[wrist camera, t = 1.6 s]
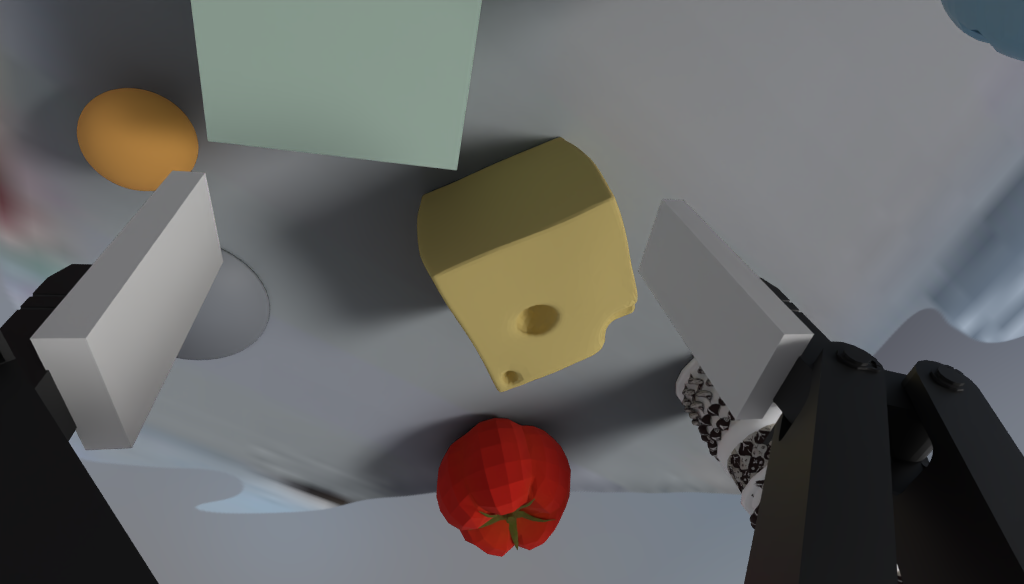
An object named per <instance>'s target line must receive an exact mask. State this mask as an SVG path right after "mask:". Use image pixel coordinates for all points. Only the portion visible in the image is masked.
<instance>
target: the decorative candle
mask: <svg viewBox="0 0 1024 584" xmlns="http://www.w3.org/2000/svg"><path fill="white" fill-rule="evenodd" d="M676 395H677V397H678V398H679V399H680V400H681V402H682V405H685V406H686V407H685V409H684V410H685V412H690V413H689V417H690V418H693V420H692V424H693V425H697V426H699V428H698V429H699V432H700V434H701V438H702V440H703V441H705V442H707V444H708V448H709V451H710V454H711V455H712V456H714V457H716V459H717V460H718V461H720V462H721V464H722V466H723V467H724V469H725V470H726V472H727V473H728V474H729V475H730V477H731V478H733V480H734V481H735V483H736V485H737V486H738V488H739V490H740V491H741V493H742V498H741V504H742V506H743V507H744V508H745V509H746V511H747V512H748V513H749V514H750V515H751V517H750V521H751V526H752V527H753V528H754V529H755V526H756V520H757V515H758V510H759V505H760V500H761V495H762V490H763V485H764V480H765V475H766V469H767V464H768V459H769V454H770V449H771V444H772V441H770V443H769V444H768V445H767V446H766V445H764V444H763V442H764V441H765V439H766V437H767V436H768V434H769V433H770V431H771V430H772V428H773V426H774V425H775V423H776V422H777V420H778V419H779V417H780V415H781V414H782V411H781V410H780V409H779V407H778V406H777V405H776V403H775V402H774V401H773V403H772V404H771V406H770V407H769V409H768V411H767V412H766V414H765V416H764V417H763V419H745V420H735V418H734V417H733V415H732V414H731V412H730V410H729V409H728V407H727V406H726V404H725V403H724V401H723V400H722V398H721V397H720V395H719V394H718V392H717V391H716V389H715V388H714V386H713V385H712V383H711V382H710V380H709V379H708V377H707V376H706V374H705V372H704V371H703V369H702V368H701V366H700V365H699V363H698V362H697V360H696V359H695V357H694V358H693V359H692V360H691V361H690V362H689V363H688V364H687V365H686V366H685V367H684V368H683V369H682V370H681V373H680V375H679V377H678V379H677V381H676ZM699 421H700V422H699ZM700 423H701V424H700ZM897 575H898V584H904V583H903V580H902V577H901V574H900V571H899V568H898V565H897Z"/></svg>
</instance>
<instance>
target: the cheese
mask: <svg viewBox="0 0 1024 584" xmlns="http://www.w3.org/2000/svg"><path fill="white" fill-rule="evenodd" d="M417 235H418V246H419V252H420V256H421V259H422V262H423V264H424V266H425V268H426V270H427V271H428V273H429V275H430V277H431V278H432V280H433V282H434V284H435V286H436V287H437V289H438V291H439V293H440V294H441V296H442V298H443V299H444V301H445V303H446V304H447V306H448V307H449V309H450V310H451V312H452V313H453V315H454V316H455V318H456V319H457V321H458V322H459V323H460V325H461V326H462V328H463V329H464V331H465V332H466V334H467V335H468V337H469V339H470V340H471V342H472V343H473V345H474V347H475V348H476V350H477V352H478V353H479V355H480V357H481V359H482V360H483V362H484V364H485V366H486V368H487V370H488V372H489V374H490V376H491V378H492V380H493V382H494V384H495V386H496V388H497V390H498V391H499V392H504V391H506V390H509V389H511V388H514V387H517V386H520V385H523V384H525V383H528V382H530V381H533V380H535V379H538V378H541V377H544V376H546V375H549V374H552V373H554V372H556V371H559V370H561V369H563V368H566V367H568V366H570V365H572V364H574V363H577V362H579V361H581V360H584V359H586V358H588V357H590V356H592V355H594V354H596V353H597V352H598V351H599V350H601V349H602V346H603V344H604V342H605V332H606V329H607V327H608V325H609V324H610V323H611V322H612V321H614V320H615V319H617V318H620V317H622V316H625V315H628V314H630V313H632V312H633V311H634V309H635V305H634V304H635V303H636V302H637V289H636V284H635V279H634V275H633V270H632V266H631V260H630V255H629V248H628V243H627V237H626V232H625V228H624V225H623V221H622V217H621V214H620V211H619V208H618V205H617V203H616V200H615V197H614V195H613V194H612V192H611V190H610V188H609V186H608V184H607V183H606V181H605V179H604V178H603V176H602V174H601V172H600V171H599V169H598V168H597V166H596V165H595V164H594V163H593V161H592V160H591V159H590V158H589V157H588V156H587V155H586V154H584V153H583V152H582V151H581V150H580V149H578V148H577V147H576V146H574V145H573V144H571V143H569V142H567V141H566V140H564V139H563V138H561V137H559V138H555V139H553V140H551V141H548V142H546V143H543V144H541V145H538V146H536V147H534V148H531V149H529V150H526V151H524V152H521V153H519V154H516V155H514V156H512V157H509V158H507V159H505V160H502V161H500V162H498V163H495V164H493V165H491V166H489V167H486V168H484V169H482V170H480V171H478V172H475V173H473V174H471V175H469V176H467V177H464V178H462V179H460V180H458V181H456V182H453V183H451V184H449V185H446V186H444V187H442V188H439V189H437V190H434V191H432V192H429V193H427V194H425V195H423V196H422V200H421V204H420V208H419V212H418V217H417Z"/></svg>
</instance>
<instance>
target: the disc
mask: <svg viewBox="0 0 1024 584" xmlns="http://www.w3.org/2000/svg"><path fill="white" fill-rule="evenodd" d="M221 253H222V258H223V263H222V265H221V267H220V269H219V271H218V273H217V275H216V277H215V279H214V281H213V283H212V285H211V287H210V290H209V292H208V294H207V296H206V298H205V300H204V302H203V304H202V306H201V308H200V310H199V312H198V314H197V316H196V318H195V320H194V322H193V324H192V326H191V328H190V330H189V332H188V334H187V336H186V339H185V341H184V343H183V345H182V347H181V349H180V351H179V353H178V355H177V357H176V358H181V359H188V360H211V359H218V358H223V357H227V356H230V355H233V354H236V353H238V352H240V351H243V350H244V349H246V348H247V347H249V346H250V345H252V344H253V343H254V342H255V341H256V340H257V339H258V338H259V337H260V336H261V335H262V333H263V331H264V330H265V328H266V325H267V323H268V319H269V314H270V304H269V298H268V295H267V292H266V289H265V287H264V286H263V284H262V282H261V281H260V279H259V278H258V276H257V275H256V274H255V273H254V272H253V271H252V269H251V268H250V267H248V266H247V265H246V264H245V263H244V262H243V261H241V260H240V259H238V258H237V257H236V256H234V255H232V254H231V253H229V252H227V251H225V250H223V249H221Z"/></svg>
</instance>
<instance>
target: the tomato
mask: <svg viewBox="0 0 1024 584" xmlns="http://www.w3.org/2000/svg"><path fill="white" fill-rule="evenodd" d="M570 473H571V470H570V466H569V463H568V460H567V458H566V455H565V453H564V451H563V449H562V447H561V446H560V445H559V444H558V443H557V442H556V441H555V440H554V439H553V438H552V437H551V436H550V435H549V434H548V433H546V432H545V431H544V430H541V429H539V428H537V427H534V426H528V425H519V424H517V423H515V422H513V421H511V420H509V419H507V418H493V419H489V420H486V421H482V422H479V423H478V424H477V425H476V426H475V427H473V428H472V429H471V430H470V431H469V432H468V433H466V434H465V435H463V436H462V437H461V438H459V439H458V440H456V441H455V442H454V443H453V444H452V445H450V447H449V449H448V451H447V452H446V454H445V456H444V457H443V459H442V462H441V464H440V467H439V471H438V481H437V500H438V504H439V508H440V511H441V513H442V514H443V516H444V517H445V519H446V520H447V522H448V523H449V524H451V525H453V526H454V527H456V528H458V529H460V531H461V533H462V535H463V537H464V539H465V540H466V541H468V542H470V543H472V544H474V545H476V546H477V547H479V548H480V549H481V550H483V551H484V552H486V553H487V554H491V555H496V556H501V557H502V556H503V555H504V554H505V553H507V552H508V551H509V550H510V549H511V548H512V547H513V546H514V545H515V547H516V548H517V550H518V546H520V547H522V548H525V549H528V550H531V549H533V548H535V547H537V546H539V545H541V544H543V543H544V542H545V541H546V540H547V539H548V537H549V536H550V535H551V534H552V532H553V531H554V530H555V528H556V526H557V524H558V523H559V521H560V519H561V516H562V514H563V512H564V510H565V507H566V504H567V502H568V499H569V494H570Z"/></svg>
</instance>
